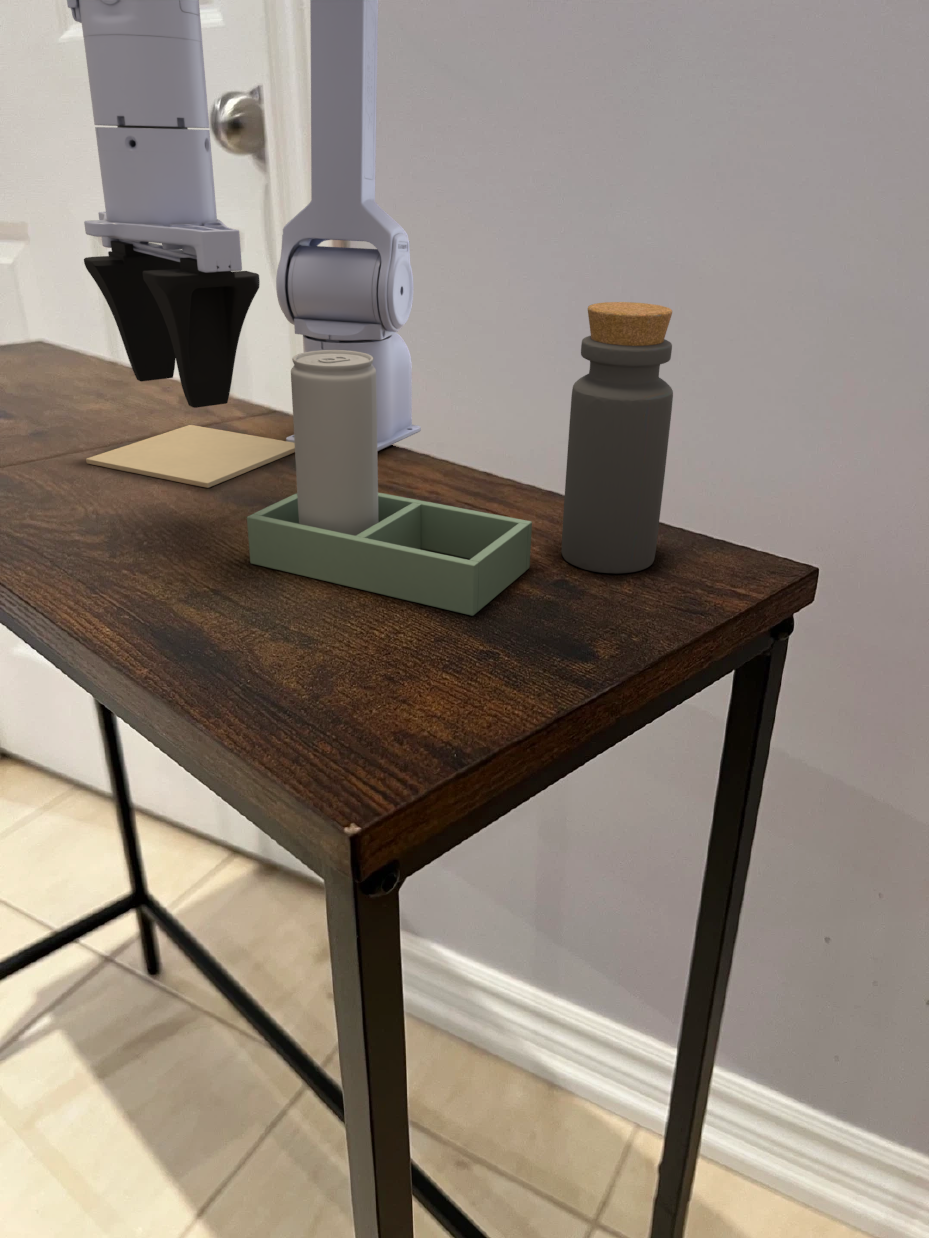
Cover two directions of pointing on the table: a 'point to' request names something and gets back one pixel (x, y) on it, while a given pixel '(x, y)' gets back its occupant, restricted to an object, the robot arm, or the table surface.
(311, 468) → the beverage can
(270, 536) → the divided storage tray
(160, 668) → the table surface
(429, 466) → the table surface
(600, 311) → the bottle
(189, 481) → the mat
